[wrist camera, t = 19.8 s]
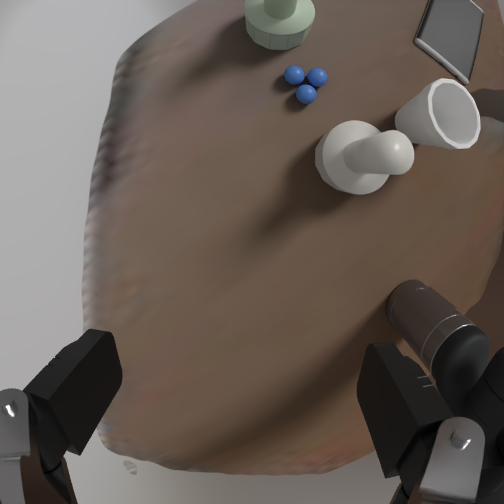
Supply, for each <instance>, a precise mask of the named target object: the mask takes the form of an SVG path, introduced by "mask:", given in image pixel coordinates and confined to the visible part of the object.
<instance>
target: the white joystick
mask: <svg viewBox="0 0 504 504" xmlns="http://www.w3.org/2000/svg"><path fill="white" fill-rule="evenodd" d="M413 161H414V149H413V146H412V144H411V142H410V140H409V139H408V138H407V136H405V135H404V134H403V133H401V132H399V131H396V130H389V131H386V132H382V133H381V132H380V131H379V130H378V129H377V128H375V127H374V126H372V125H370V124H368V123H366V122H362V121H347V122H344V123H341V124H340V125H338V126H336V127H335V128H334V129H332V130H330V131H328V132H327V133H325V134H324V135H323V137H322V138H321V140H320V141H319V143H318V145H317V146H316V148H315V166H316V168H317V170H318V172H319V174H320V176H321V178H322V179H323V181H324V182H326V183H327V184H329V185H330V186H332V187H333V188H335V189H336V190H339V191H344V192H348V193H352V194H358V195H363V194H368V193H372V192H374V191H376V190H377V189H379V188H380V187H381V186H382V185H383V184H384V183H385V182H386V180H387V179H388V177H389V175H390V174H391V175H400V174H403V173H405V172H407V171H408V170H409V169H410V168H411V166H412V164H413Z"/></svg>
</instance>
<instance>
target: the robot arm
mask: <svg viewBox="0 0 504 504" xmlns="http://www.w3.org/2000/svg"><path fill="white" fill-rule="evenodd" d="M386 310H387V316H388V318H389V320H390V321H391V323H392V324H393V325H394V326H395V328H396V329H397V330H398V332H399V333H400V334H401V335H402V337H403V338H404V339H405V341H406V342H407V343H408V344H409V346H410V347H411V348H412V350H413V351H414V352H415V354H416V355H417V356H418V357H419V359H420V360H421V361H422V363H423V364H424V365H425V367H426V368H427V369H428V371H429V372H430V374H431V375H432V376H433V378H434V379H435V380H436V386H437V389H438V391H439V393H440V394H439V393H438V391H437V390H436V388H435V387H434V386H432V382H431V381H430V379H429V378H428V377H426V374H425V372H424V371H423V370H422V368H421V367H420V365H419V364H417V363H416V362H415V361H413V360H412V359H410V358H409V357H408V356H403V355H402V354H401V353H400V351H399V350H398V348H397V347H396V345H395V344H394V343H393V342H388V343H375V344H369V345H368V347H367V349H366V353H365V357H364V361H363V364H362V368H361V372H360V375H359V379H358V383H357V398H358V402H359V404H360V407H361V410H362V412H363V415H364V418H365V421H366V424H367V426H368V429H369V432H370V435H371V438H372V441H373V443H374V446H375V449H376V452H377V455H378V458H379V461H380V464H381V467H382V470H383V473H384V476H385V478H390V477H394V476H398V475H399V476H400V479H401V483H400V484H399V486H398V487H397V489H396V492H395V494H394V496H393V498H392V500H391V502H390V504H504V347H503V348H501V349H499V351H497V353H496V354H495V355H494V357H493V358H492V360H491V361H490V363H489V364H488V366H487V367H486V365H487V361H488V357H489V352H490V343H489V340H488V337H487V336H486V334H485V333H484V332H483V331H482V330H481V329H479V328H478V327H477V326H476V325H474V324H473V323H472V322H471V321H470V320H469V319H467V318H466V317H465V316H464V315H462V314H461V313H460V312H459V311H458V309H457V308H456V307H455V306H454V305H453V304H451V303H450V302H449V301H448V300H446V299H445V298H444V297H443V296H441V295H440V294H439V293H437V292H436V291H435V290H433V289H432V288H431V287H427V286H426V285H425V284H424V283H422V282H420V281H418V280H409V281H406V282H404V283H402V284H401V285H399V286H398V287H397V288H396V289H395V290H394V291H393V293H392V294H391V296H390V298H389V300H388V303H387V309H386ZM122 376H123V375H122V368H121V364H120V360H119V356H118V352H117V348H116V344H115V340H114V337H113V335H112V333H111V332H107V331H101V330H95V329H88V330H87V331H86V332H85V333H84V334H83V335H82V336H81V337H80V338H79V339H78V340H77V341H75V342H73V343H71V344H69V345H67V346H66V347H64V348H63V349H62V350H61V351H60V352H59V353H58V354H57V355H56V356H55V358H53V359H52V360H51V361H50V362H49V363H48V365H46V366H45V367H44V368H43V369H42V370H41V371H40V372H39V374H38V375H37V376H36V377H35V378H34V379H33V380H32V381H31V382H30V383H29V384H28V385H27V386H26V387H25V388H24V390H23V391H21V390H19V389H5V390H2V391H0V504H78V503H77V500H76V497H75V493H74V490H73V486H72V483H71V479H70V475H69V471H68V467H67V463H66V460H65V458H64V457H63V455H64V454H65V452H66V451H69V452H72V453H74V454H77V455H79V456H80V455H81V453H82V452H83V450H84V448H85V446H86V445H87V443H88V441H89V439H90V438H91V436H92V434H93V432H94V431H95V429H96V427H97V425H98V424H99V422H100V420H101V418H102V417H103V415H104V413H105V412H106V410H107V408H108V407H109V405H110V403H111V401H112V400H113V398H114V396H115V395H116V393H117V391H118V390H119V388H120V386H121V383H122ZM441 396H442V397H441Z"/></svg>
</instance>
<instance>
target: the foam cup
mask: <svg viewBox="0 0 504 504" xmlns="http://www.w3.org/2000/svg"><path fill="white" fill-rule="evenodd" d="M395 127H396V129H397V131H399V132H401V133H403V134H404V135H405V136H407V138H408V139H409V140H410V142H411V143H416V144H424V145H432V146H439V147H445V148H446V149H461V148H469V147H471V146H472V145H473V144H474V143H475V142H476V141H477V139H478V135H479V132H480V115H479V111H478V109H477V107H476V104H475V101H474V99H473V98H472V96H471V95H470V94H469V92H468V91H467V90H466V89H465V87H464V86H462V85H460V84H459V83H457V82H456V81H454V80H452V79H442V78H441V79H439V80H437V81H434V82H432V83H431V84H429V85H428V86H426V87H425V88H423V90H422V92H420V93H419V94H418V95H417V96H415V97H414V98H413V99H411V100H410V101H409V102H408V103H406V104H405V105H404V106H403V107H401V108H400V109H399V110H398V111H397V113H396V115H395Z"/></svg>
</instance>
